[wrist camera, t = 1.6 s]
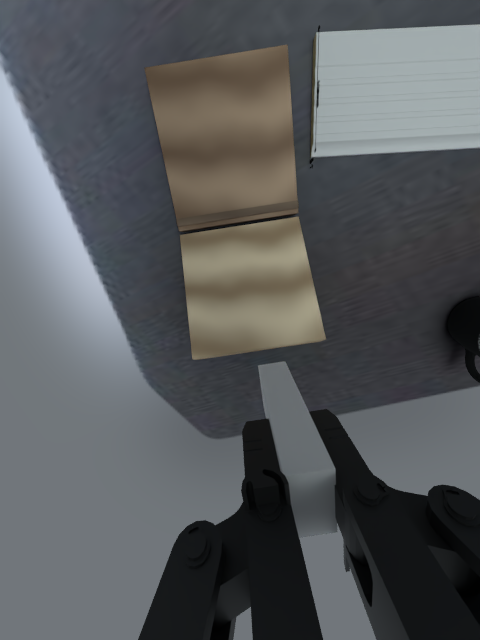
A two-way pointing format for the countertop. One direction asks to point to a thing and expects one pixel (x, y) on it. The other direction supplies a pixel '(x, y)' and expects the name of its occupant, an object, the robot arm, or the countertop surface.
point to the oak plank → (249, 289)
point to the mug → (467, 331)
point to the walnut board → (227, 137)
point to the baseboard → (395, 91)
